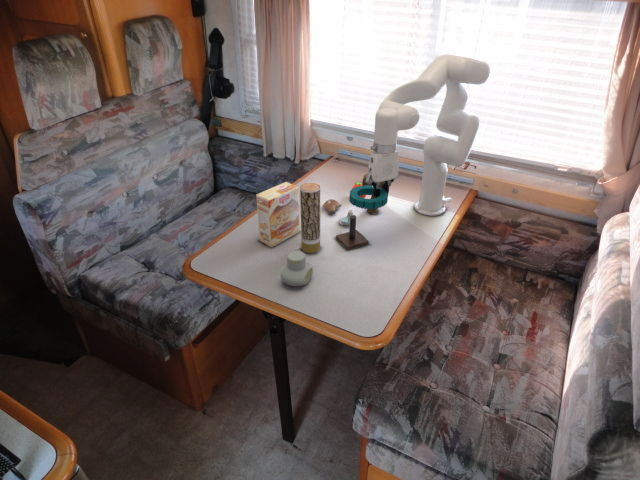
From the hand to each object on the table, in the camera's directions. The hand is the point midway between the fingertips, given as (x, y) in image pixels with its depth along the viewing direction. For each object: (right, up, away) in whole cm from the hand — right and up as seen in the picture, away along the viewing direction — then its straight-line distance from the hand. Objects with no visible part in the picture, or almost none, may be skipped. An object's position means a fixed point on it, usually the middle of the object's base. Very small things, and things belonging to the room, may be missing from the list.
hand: (380, 196), depth 158 cm
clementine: (-5, +3, +39) cm, 39 cm away
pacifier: (-11, -9, +20) cm, 25 cm away
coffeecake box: (-37, -14, +12) cm, 41 cm away
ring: (-5, -2, -2) cm, 5 cm away
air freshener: (-29, -29, -11) cm, 43 cm away
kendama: (+1, -4, +28) cm, 28 cm away
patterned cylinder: (-25, -19, +4) cm, 32 cm away
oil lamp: (-17, -3, +29) cm, 34 cm away
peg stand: (-10, -16, +9) cm, 21 cm away
